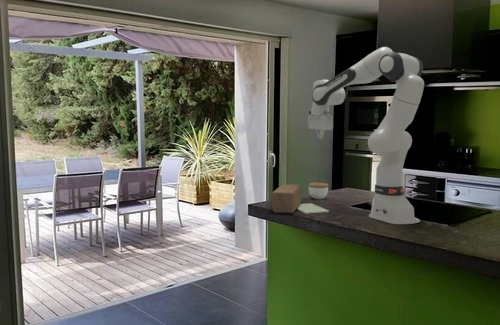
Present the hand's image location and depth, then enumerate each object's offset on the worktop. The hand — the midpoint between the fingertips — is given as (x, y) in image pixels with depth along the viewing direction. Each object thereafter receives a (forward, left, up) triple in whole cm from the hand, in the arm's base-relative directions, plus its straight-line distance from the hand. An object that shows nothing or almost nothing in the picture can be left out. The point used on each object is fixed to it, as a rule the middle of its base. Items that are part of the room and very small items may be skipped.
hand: (320, 138), depth 236 cm
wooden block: (-6, +18, -27) cm, 33 cm away
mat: (-16, +14, -33) cm, 39 cm away
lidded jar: (+7, -3, -33) cm, 34 cm away
